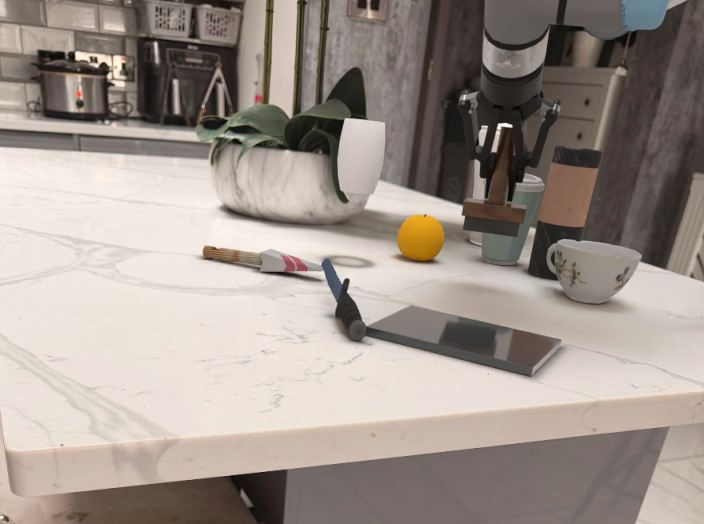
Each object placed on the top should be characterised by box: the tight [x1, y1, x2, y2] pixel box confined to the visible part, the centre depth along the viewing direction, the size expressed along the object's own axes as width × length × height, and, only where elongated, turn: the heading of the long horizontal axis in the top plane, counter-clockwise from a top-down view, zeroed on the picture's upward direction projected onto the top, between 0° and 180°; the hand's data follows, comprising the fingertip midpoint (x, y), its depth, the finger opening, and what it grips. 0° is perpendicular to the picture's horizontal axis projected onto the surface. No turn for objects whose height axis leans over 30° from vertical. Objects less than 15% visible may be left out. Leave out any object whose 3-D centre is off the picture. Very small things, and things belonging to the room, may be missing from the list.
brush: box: [461, 126, 527, 237], centre depth 110 cm, size 9×5×14 cm, turn 76°
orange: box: [396, 213, 445, 262], centre depth 131 cm, size 8×8×8 cm
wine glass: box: [336, 117, 386, 205], centre depth 120 cm, size 7×7×21 cm
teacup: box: [547, 239, 643, 305], centre depth 117 cm, size 15×12×8 cm
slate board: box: [365, 304, 563, 377], centre depth 91 cm, size 20×14×1 cm
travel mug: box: [527, 145, 603, 281], centre depth 127 cm, size 8×8×20 cm
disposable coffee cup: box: [480, 172, 546, 266], centre depth 135 cm, size 11×11×15 cm
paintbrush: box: [202, 245, 324, 273], centre depth 113 cm, size 4×3×20 cm
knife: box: [320, 257, 367, 342], centre depth 96 cm, size 24×2×5 cm, turn 10°
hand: (500, 192), depth 115 cm, fingers closed on brush, 3 cm apart
